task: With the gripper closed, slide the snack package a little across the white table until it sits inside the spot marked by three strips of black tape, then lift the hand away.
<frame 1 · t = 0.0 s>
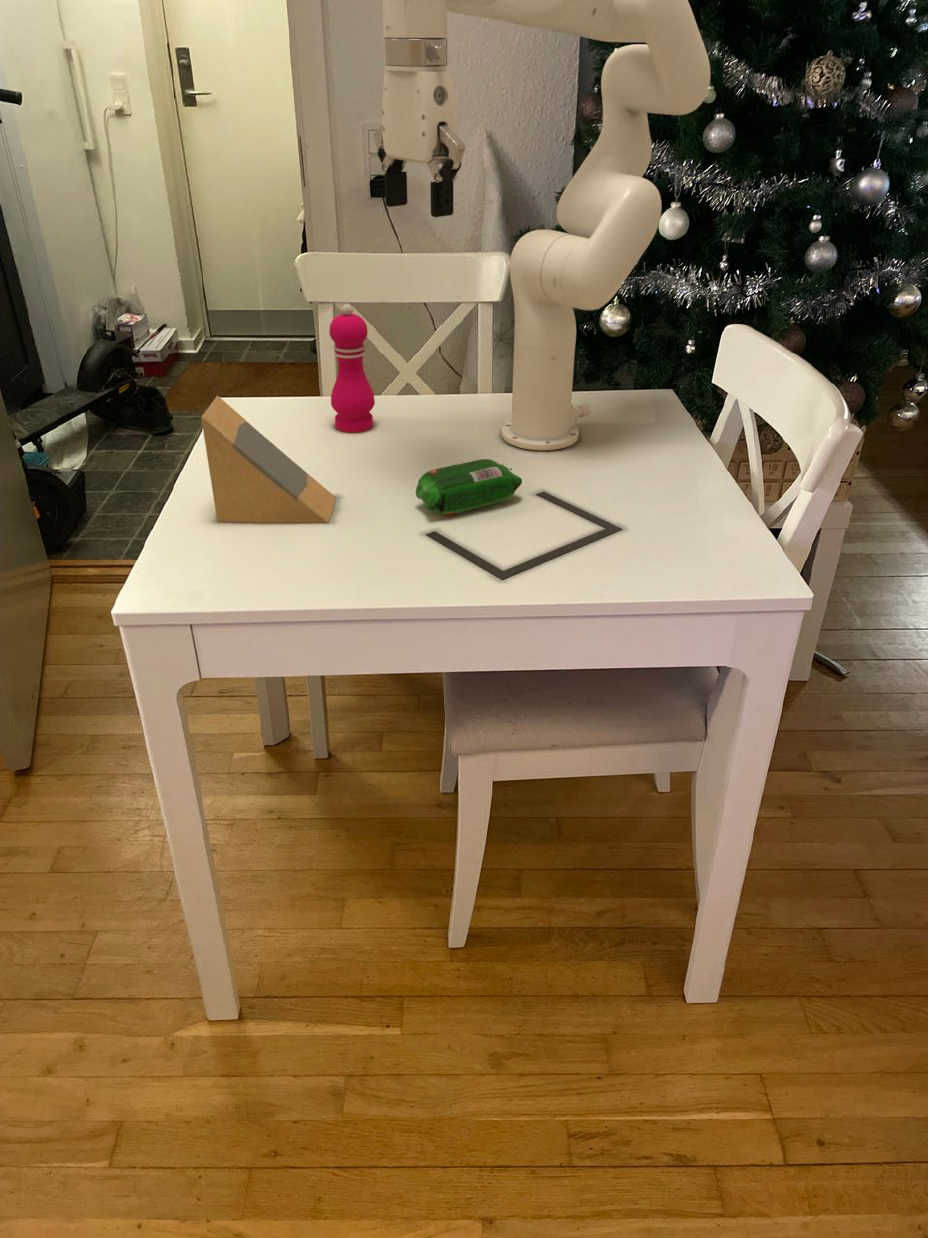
hand: (418, 210, 122), 37 cm above the table, tool pointing down, fingers open, 9 cm apart
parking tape: (516, 527, 127), on the table
snack package: (469, 504, 133), on the table
sandwich container: (278, 510, 131), on the table
pepper mill: (354, 427, 158), on the table
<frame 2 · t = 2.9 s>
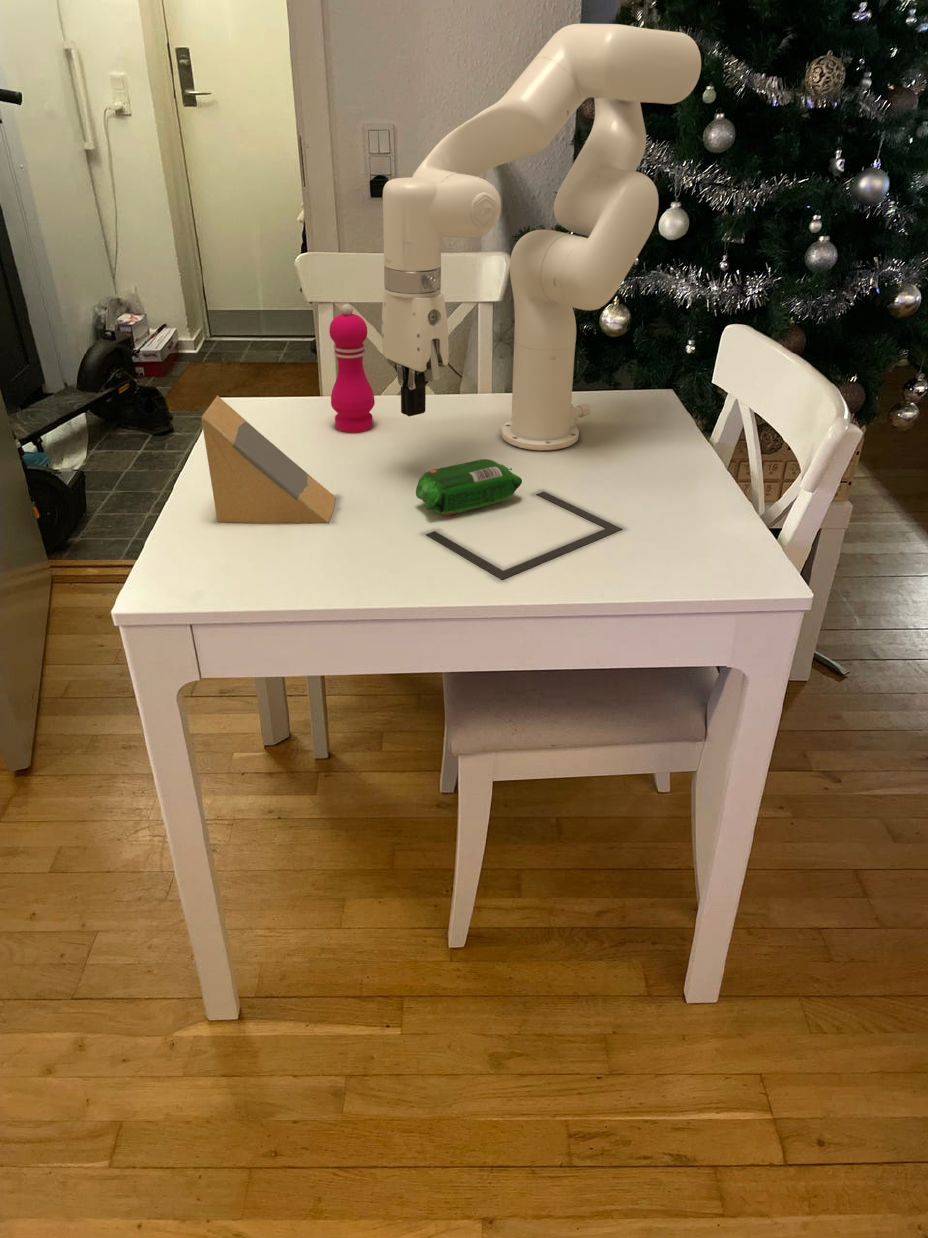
hand: (413, 412, 135), 10 cm above the table, tool pointing down, fingers closed
nothing on the table moved.
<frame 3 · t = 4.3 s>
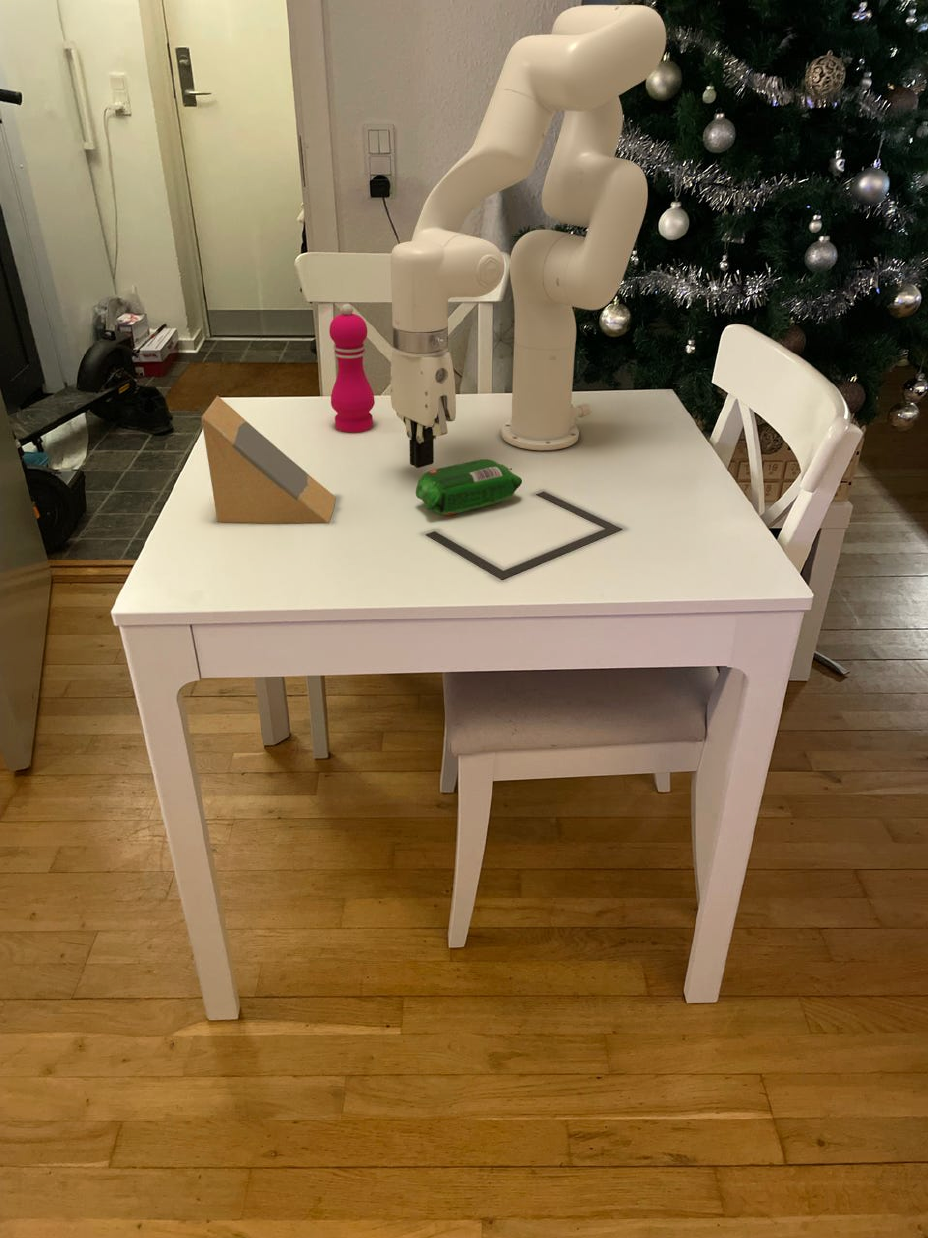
hand: (421, 464, 139), 2 cm above the table, tool pointing down, fingers closed
nothing on the table moved.
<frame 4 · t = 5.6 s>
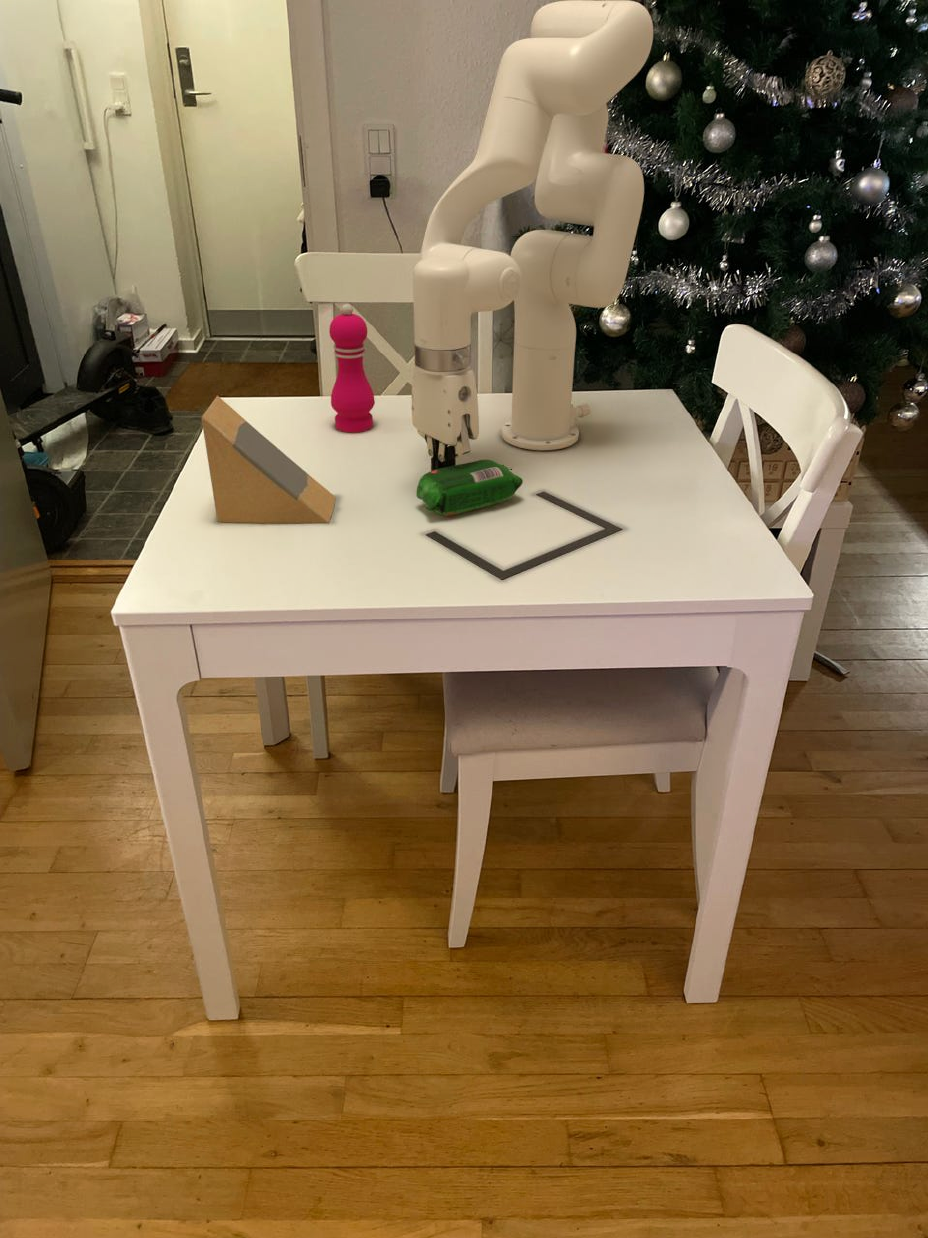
hand: (443, 482, 136), 1 cm above the table, tool pointing down, fingers closed
snack package: (469, 504, 133), on the table, touching gripper
everything else where it was.
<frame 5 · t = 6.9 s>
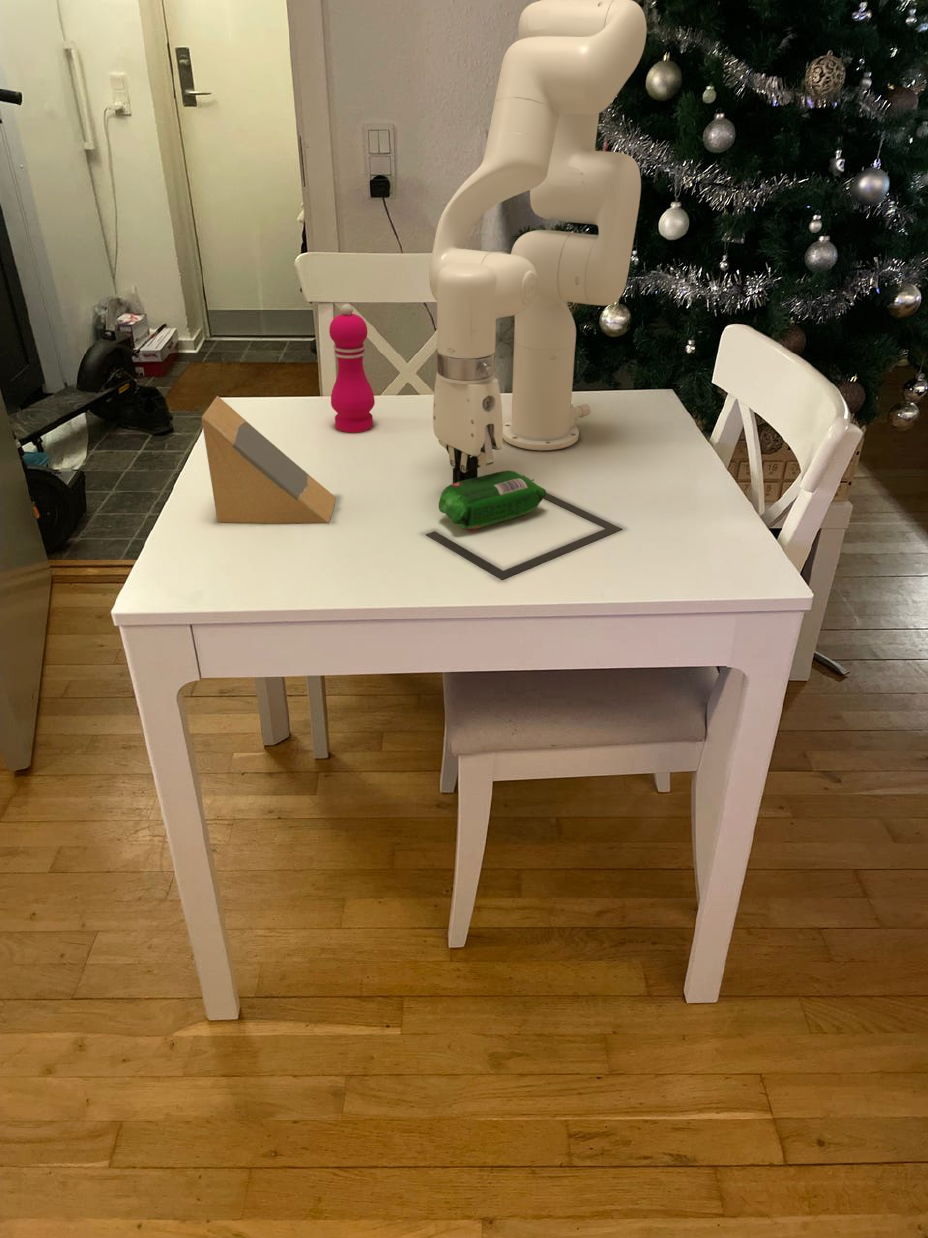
hand: (465, 493, 133), 1 cm above the table, tool pointing down, fingers closed
snack package: (492, 516, 130), on the table, touching gripper
everything else where it was.
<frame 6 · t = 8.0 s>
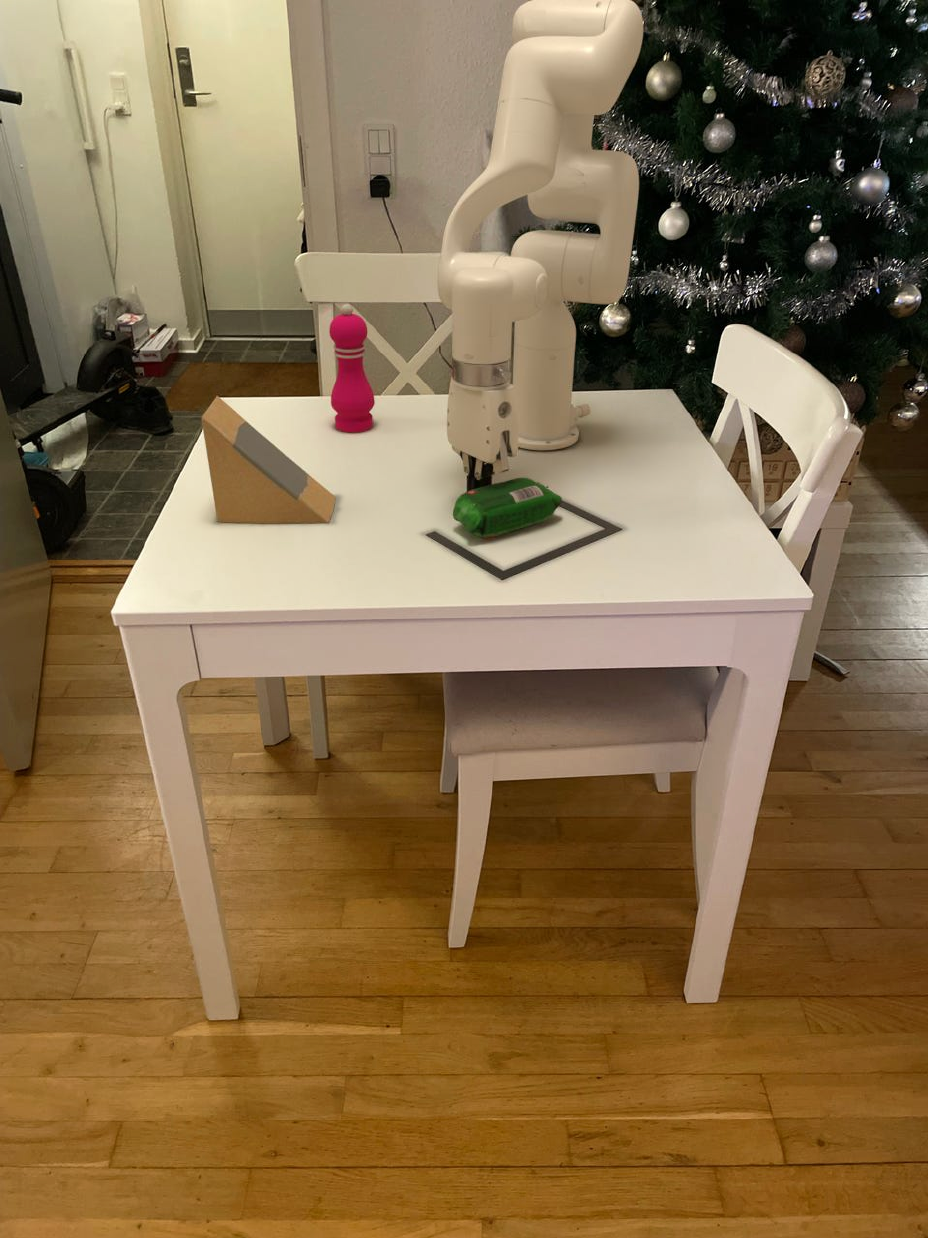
hand: (479, 500, 131), 1 cm above the table, tool pointing down, fingers closed
snack package: (507, 524, 128), on the table, touching gripper
everything else where it was.
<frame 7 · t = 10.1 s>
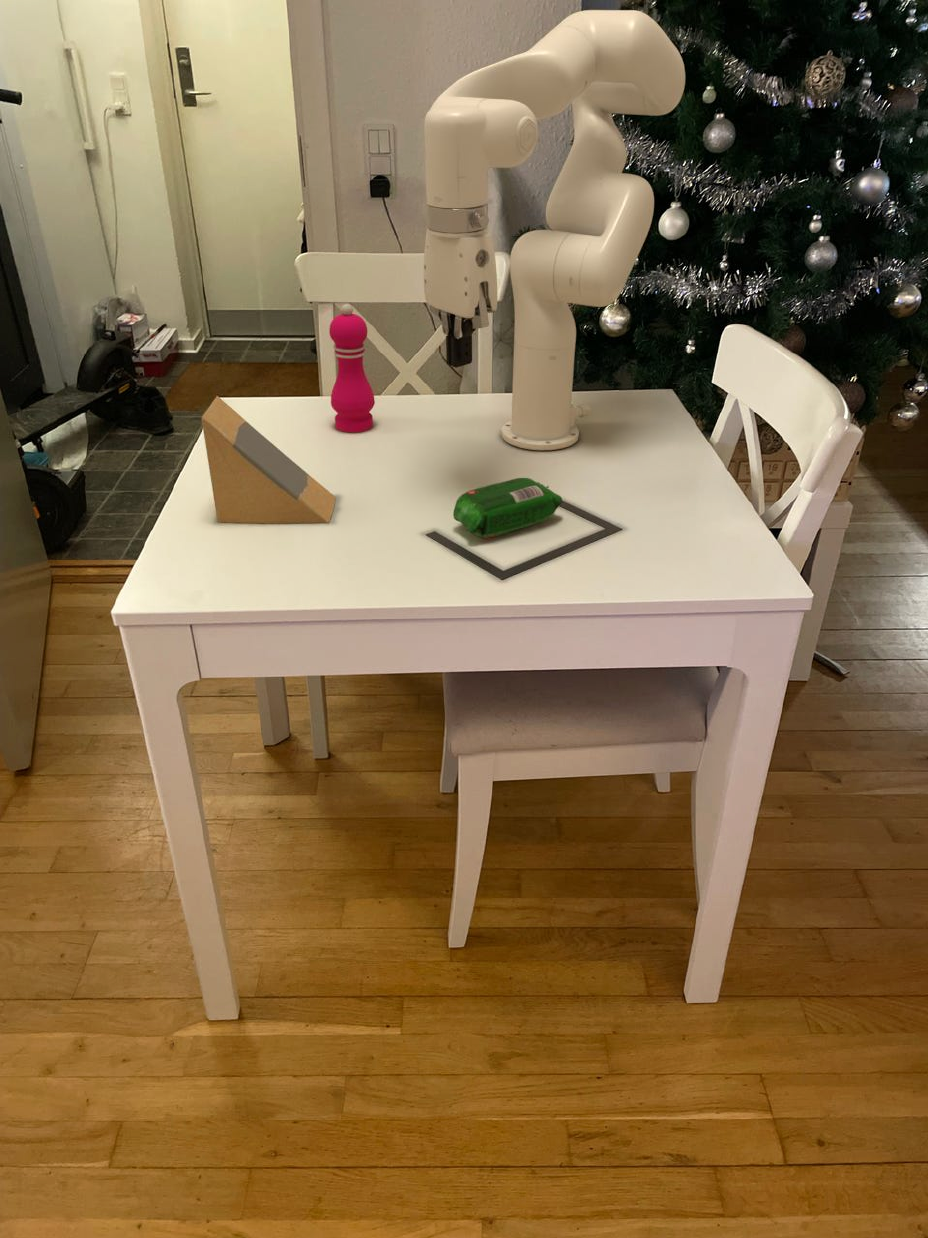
hand: (459, 363, 127), 18 cm above the table, tool pointing down, fingers closed
snack package: (507, 524, 128), on the table
everything else where it was.
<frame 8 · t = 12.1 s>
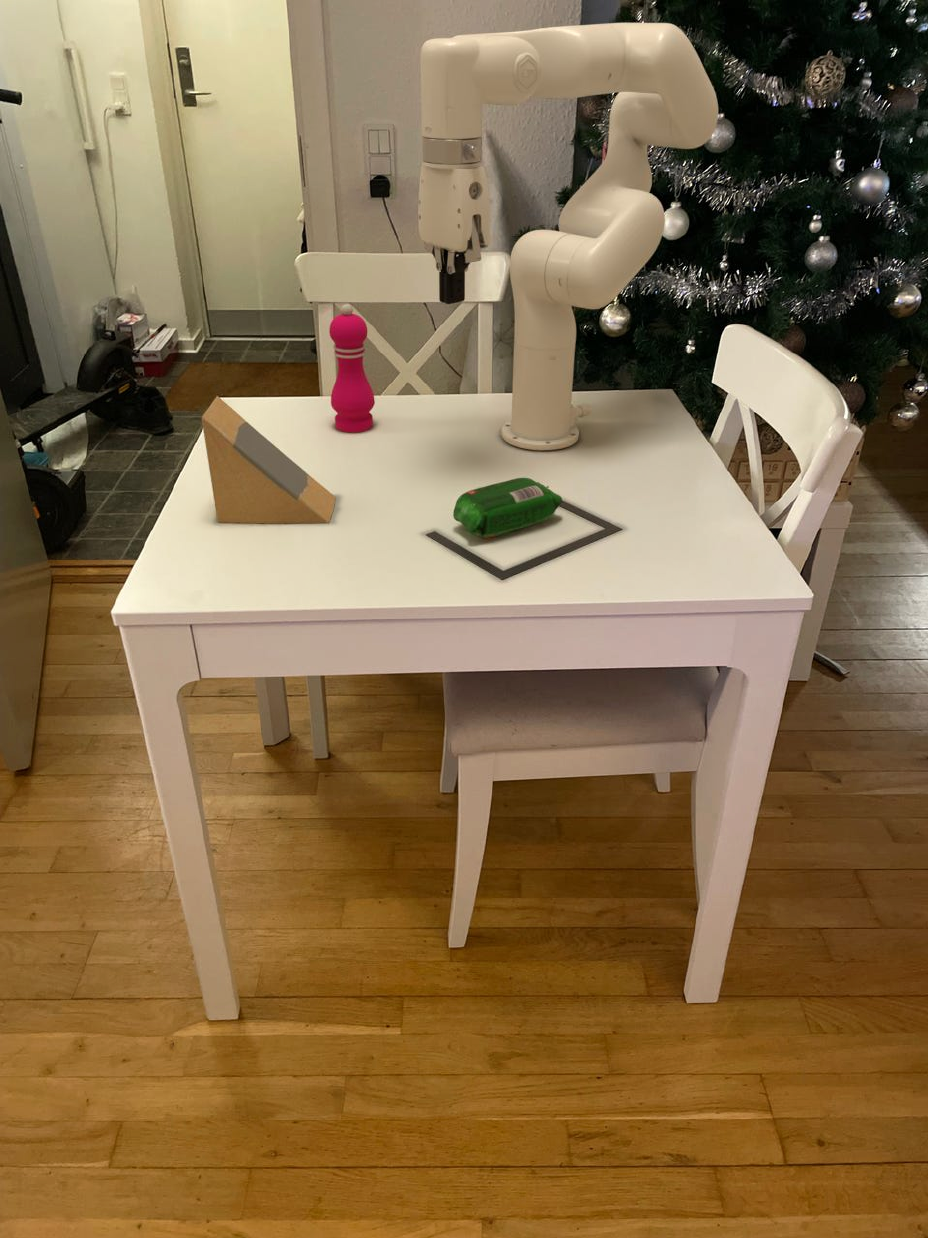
hand: (452, 301, 129), 25 cm above the table, tool pointing down, fingers closed
nothing on the table moved.
at the end: snack package inside the target area (1.7 cm from its centre), on the table; snack package tilted 2°; the gripper is holding nothing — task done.
